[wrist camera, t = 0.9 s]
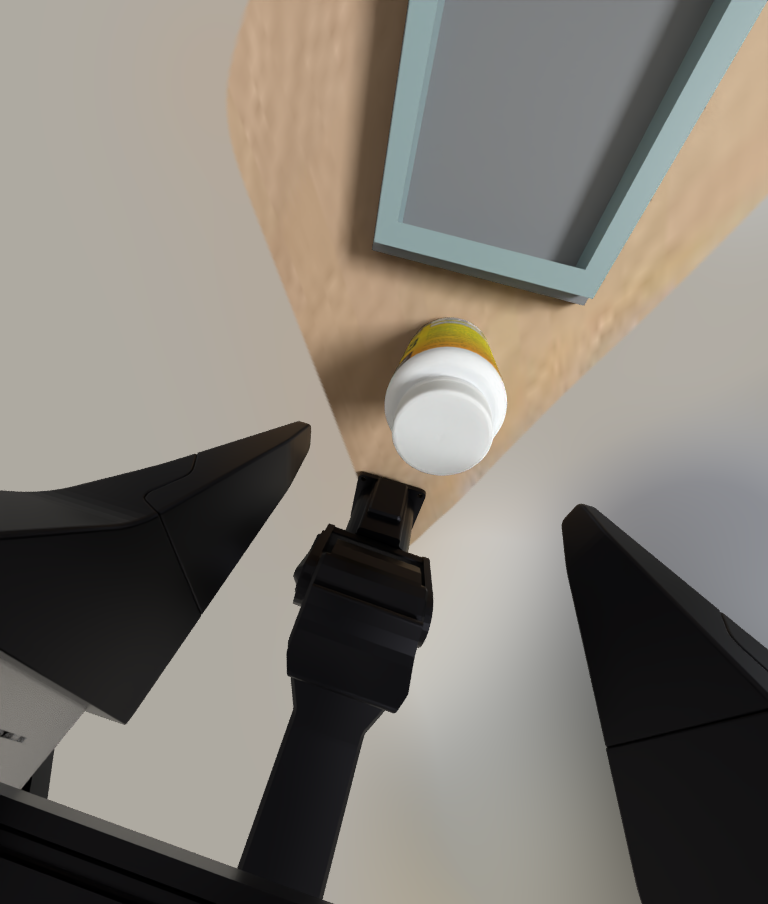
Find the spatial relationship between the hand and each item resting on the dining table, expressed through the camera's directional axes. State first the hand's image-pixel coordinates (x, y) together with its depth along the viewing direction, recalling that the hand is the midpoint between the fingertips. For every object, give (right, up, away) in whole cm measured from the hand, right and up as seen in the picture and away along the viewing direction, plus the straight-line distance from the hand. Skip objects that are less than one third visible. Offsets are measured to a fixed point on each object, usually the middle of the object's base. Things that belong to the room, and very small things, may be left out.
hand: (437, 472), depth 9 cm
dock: (+5, +16, +3) cm, 17 cm away
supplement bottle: (+3, +7, +10) cm, 13 cm away
